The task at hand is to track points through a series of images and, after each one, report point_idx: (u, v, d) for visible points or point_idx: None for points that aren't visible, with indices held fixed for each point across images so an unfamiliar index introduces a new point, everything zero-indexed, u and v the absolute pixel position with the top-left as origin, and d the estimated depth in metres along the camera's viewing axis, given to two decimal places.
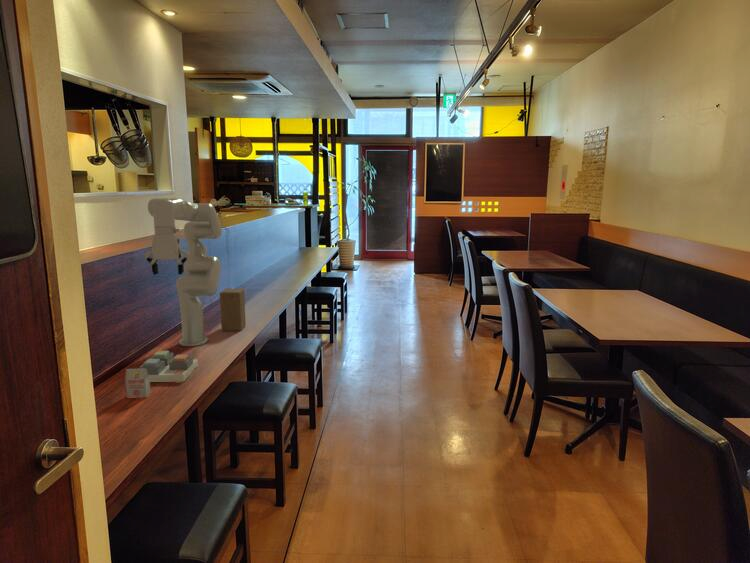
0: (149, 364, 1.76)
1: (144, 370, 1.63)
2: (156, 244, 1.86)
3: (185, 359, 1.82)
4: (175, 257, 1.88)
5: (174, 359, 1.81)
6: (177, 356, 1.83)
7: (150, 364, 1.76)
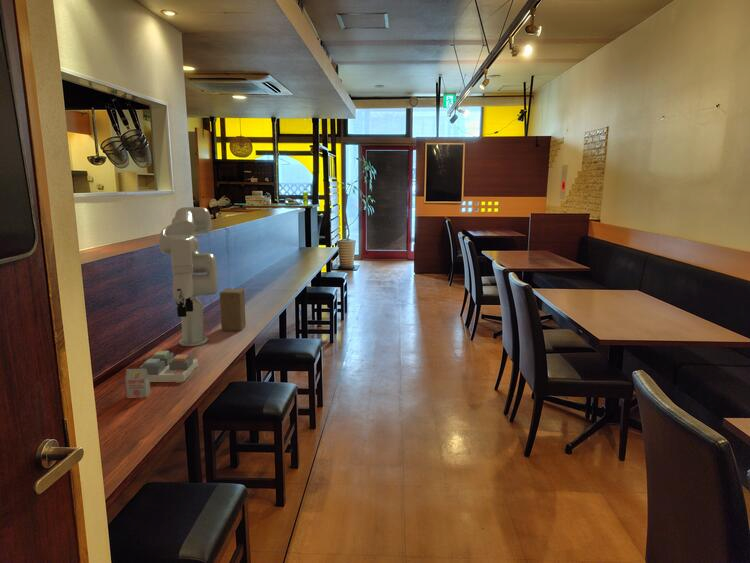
0: (149, 364, 1.76)
1: (144, 370, 1.63)
2: (187, 283, 1.83)
3: (185, 359, 1.82)
4: (193, 292, 1.91)
5: (174, 359, 1.81)
6: (177, 356, 1.83)
7: (150, 364, 1.76)
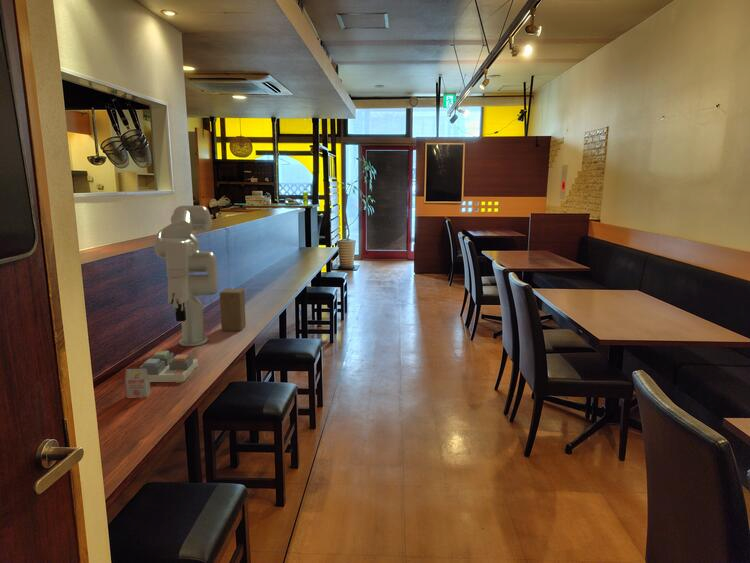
0: (149, 364, 1.76)
1: (144, 370, 1.63)
2: (182, 287, 1.78)
3: (185, 359, 1.82)
4: (188, 297, 1.85)
5: (174, 359, 1.81)
6: (177, 356, 1.83)
7: (150, 364, 1.76)
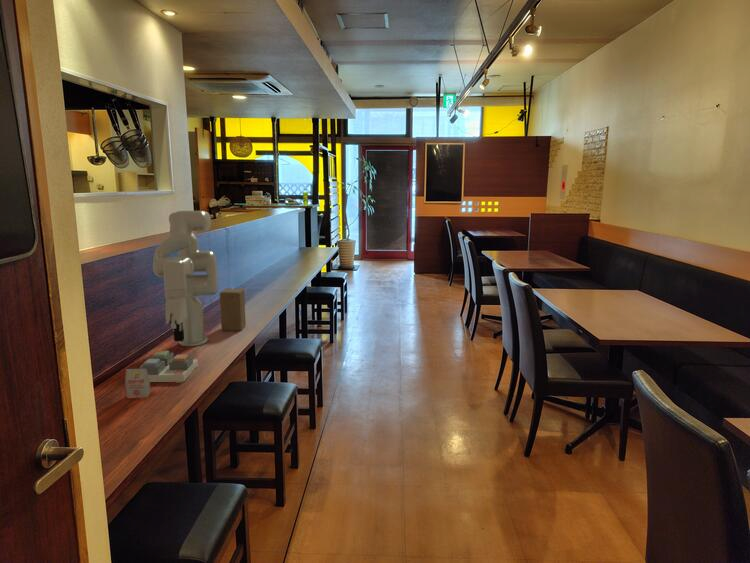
0: (149, 364, 1.76)
1: (144, 370, 1.63)
2: (180, 307, 1.76)
3: (185, 359, 1.82)
4: (186, 316, 1.83)
5: (174, 359, 1.81)
6: (177, 356, 1.83)
7: (150, 364, 1.76)
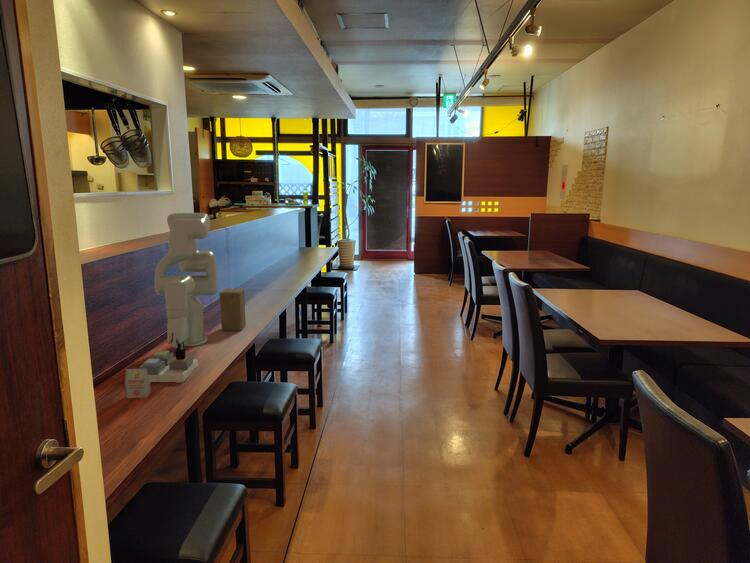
0: (149, 364, 1.76)
1: (144, 370, 1.63)
2: (181, 326, 1.77)
3: (185, 361, 1.82)
4: (188, 335, 1.85)
5: (174, 361, 1.81)
6: None
7: (150, 364, 1.76)
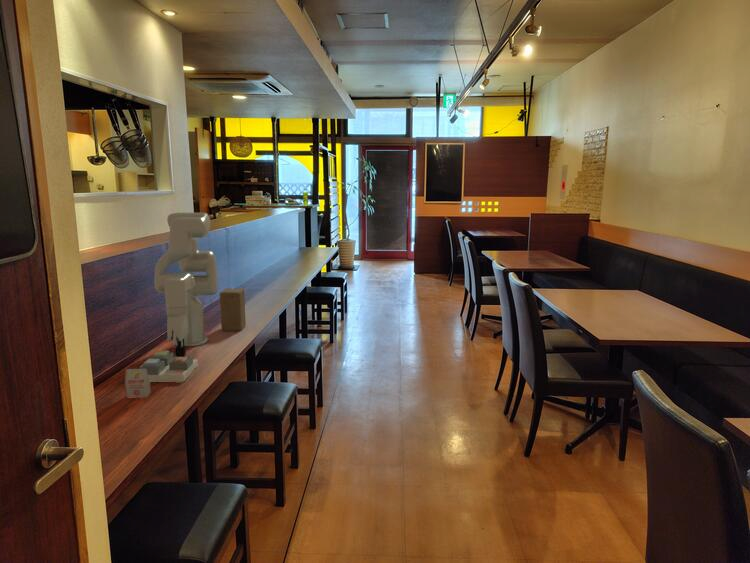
0: (149, 364, 1.76)
1: (144, 370, 1.63)
2: (181, 324, 1.78)
3: None
4: (188, 332, 1.85)
5: None
6: (177, 359, 1.83)
7: (150, 364, 1.76)
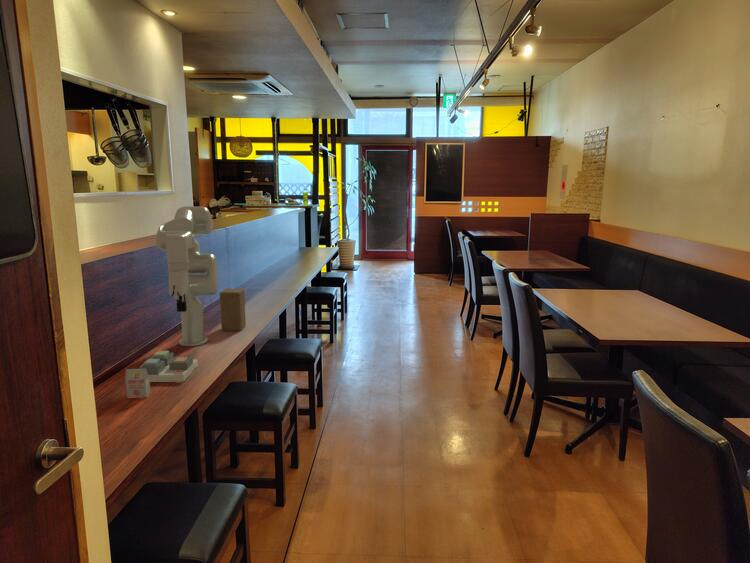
0: (149, 364, 1.76)
1: (144, 370, 1.63)
2: (182, 280, 1.83)
3: None
4: (189, 288, 1.91)
5: None
6: (177, 359, 1.83)
7: (150, 364, 1.76)
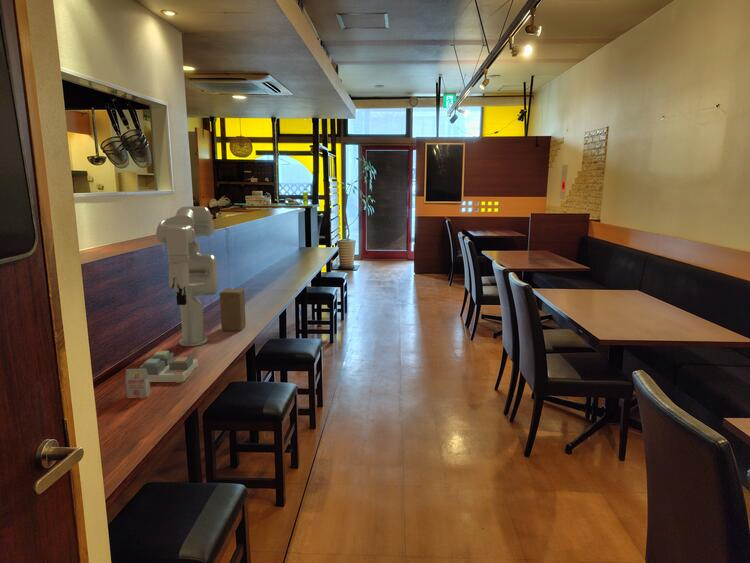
0: (149, 364, 1.76)
1: (144, 370, 1.63)
2: (182, 272, 1.84)
3: None
4: (189, 282, 1.92)
5: None
6: (177, 359, 1.83)
7: (150, 364, 1.76)
